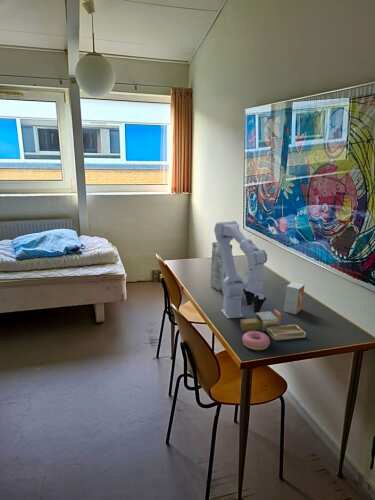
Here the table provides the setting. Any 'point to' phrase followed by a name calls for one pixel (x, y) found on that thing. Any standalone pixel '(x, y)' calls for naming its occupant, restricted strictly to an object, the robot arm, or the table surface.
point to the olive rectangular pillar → (250, 324)
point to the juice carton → (217, 267)
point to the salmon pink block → (278, 316)
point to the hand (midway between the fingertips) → (253, 308)
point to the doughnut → (256, 340)
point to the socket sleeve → (267, 320)
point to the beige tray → (285, 332)
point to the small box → (294, 298)
